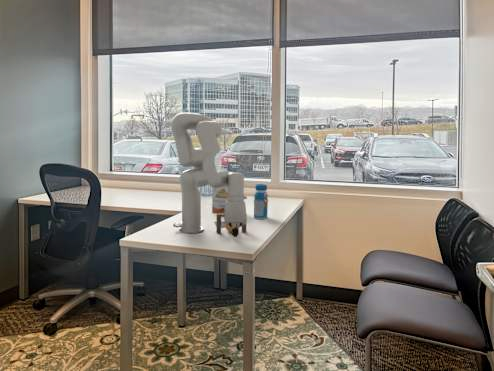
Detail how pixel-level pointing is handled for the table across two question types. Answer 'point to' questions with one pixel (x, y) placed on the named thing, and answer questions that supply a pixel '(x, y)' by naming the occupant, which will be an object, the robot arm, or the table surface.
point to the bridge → (218, 228)
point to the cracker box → (219, 199)
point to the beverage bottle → (260, 202)
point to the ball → (230, 227)
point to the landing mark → (221, 224)
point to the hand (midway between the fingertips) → (235, 236)
